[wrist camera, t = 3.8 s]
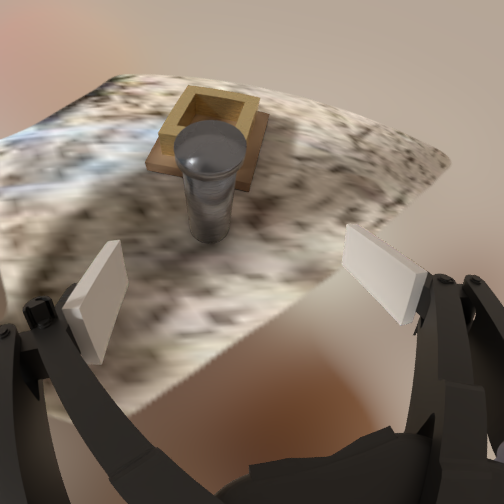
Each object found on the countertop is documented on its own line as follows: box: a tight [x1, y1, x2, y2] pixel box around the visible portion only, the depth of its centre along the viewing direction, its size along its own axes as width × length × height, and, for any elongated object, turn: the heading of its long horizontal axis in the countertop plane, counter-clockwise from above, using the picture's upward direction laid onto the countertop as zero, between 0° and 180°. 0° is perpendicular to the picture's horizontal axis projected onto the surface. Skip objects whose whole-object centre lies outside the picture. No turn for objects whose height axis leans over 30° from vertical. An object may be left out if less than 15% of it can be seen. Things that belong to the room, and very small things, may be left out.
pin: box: [174, 120, 247, 243], centre depth 23 cm, size 5×5×12 cm
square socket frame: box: [158, 85, 260, 170], centre depth 29 cm, size 9×9×4 cm
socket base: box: [145, 111, 269, 192], centre depth 32 cm, size 12×12×2 cm
